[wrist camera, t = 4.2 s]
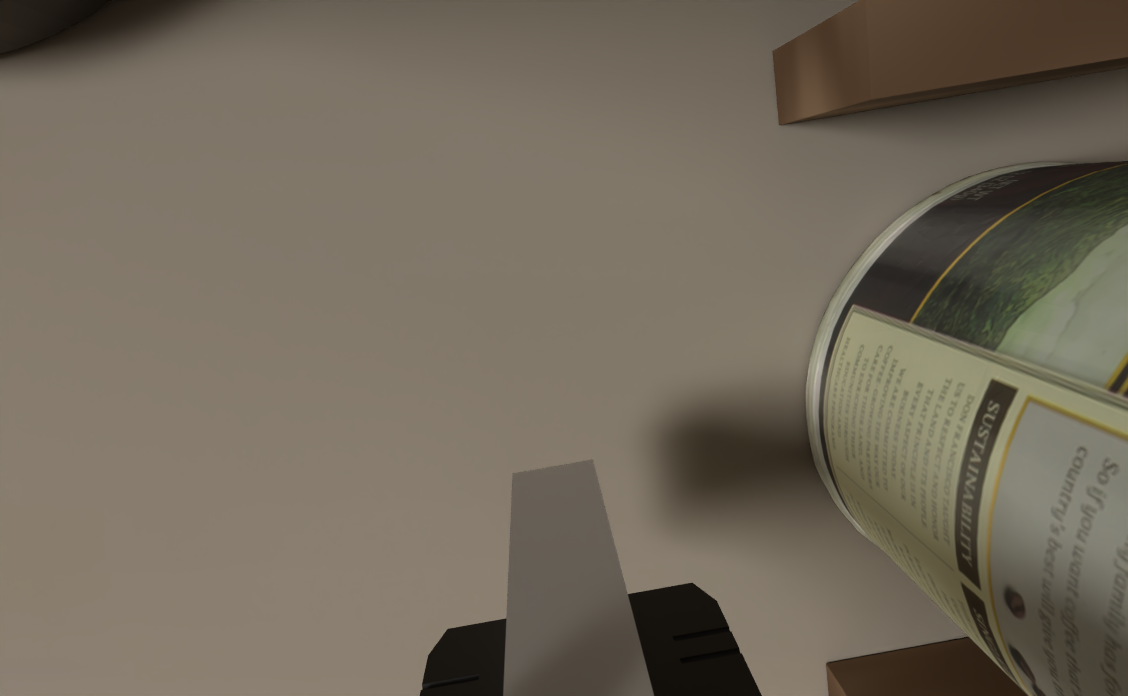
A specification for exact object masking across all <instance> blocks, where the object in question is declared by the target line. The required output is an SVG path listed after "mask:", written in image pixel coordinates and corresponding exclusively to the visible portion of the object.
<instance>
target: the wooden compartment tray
mask: <svg viewBox="0 0 1128 696" xmlns="http://www.w3.org/2000/svg"><path fill="white" fill-rule="evenodd" d="M773 60H774V72H775V83H776V95H777V106H778V118H779V125H783V124H789V123H795V122H801V121H807V120H813V119H819V118H825V117H831V116H837V115H843V114H850V113H856V112H862V111H868V110H874V109H880V108H886V107H892V106H898V105H904V104H910V103H916V102H922V101H928V100H934V99H940V98H946V97H952V96H958V95H964V94H970V93H976V92H982V91H988V90H994V89H1000V88H1006V87H1012V86H1018V85H1024V84H1030V83H1036V82H1042V81H1048V80H1054V79H1060V78H1066V77H1072V76H1078V75H1084V74H1090V73H1096V72H1102V71H1108V70H1114V69H1120V68H1126V67H1128V0H860V1H858V2H857V3H855V4H853V5H851V6H850V7H848V8H846V9H845V10H843V11H841V12H839V13H838V14H836V15H834V16H833V17H831V18H829V19H827V20H826V21H824V22H822V23H821V24H819V25H817V26H815V27H814V28H812V29H810V30H809V31H807V32H805V33H803V34H802V35H800V36H798V37H797V38H795V39H793V40H791V41H790V42H788V43H786V44H785V45H783V46H781V47H779V48H778V49H776V50H774V51H773ZM826 668H827V680H828V691H829V696H1028V695H1027V694H1026V693H1025V692H1024V691H1023V690H1022V689H1021V688H1020V687H1019V686H1018V685H1017V684H1016V683H1015V682H1014V681H1013V680H1012V679H1011V678H1010V677H1009V676H1008V675H1007V674H1006V673H1005V672H1004V671H1003V670H1002V669H1001V668H1000V667H999V666H998V665H997V664H996V663H995V662H994V661H993V660H992V659H991V658H990V657H989V656H988V655H987V654H986V653H985V652H984V651H983V650H982V649H981V648H980V647H979V646H978V645H977V644H976V643H975V642H974V641H973V640H972V639H971V638H964V639H959V640H953V641H948V642H942V643H937V644H931V645H926V646H920V647H915V648H909V649H904V650H898V651H893V652H887V653H882V654H876V655H871V656H865V657H860V658H854V659H849V660H843V661H838V662H832V663H827V664H826Z"/></svg>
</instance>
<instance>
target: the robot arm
mask: <svg viewBox="0 0 1128 696" xmlns="http://www.w3.org/2000/svg"><path fill="white" fill-rule="evenodd" d="M110 1H111V0H0V54H2V53H5V52H8V51H12V50H15V49H19V48H22V47H24V46H27V45H30V44H32V43H35V42H37V41H40V40H43V39H45V38H48V37H50V36H52V35H54V34H56V33H58V32H60V31H62V30H64V29H66V28H68V27H70V26H72V25H74V24H76V23H77V22H79V21H81V20H82V19H84V18H86V17H87V16H89V15H91V14H92V13H94V12H96V11H97V10H99V9H100V8H102V7H103V6H104V5H106V4H107V3H108V2H110ZM422 687H423V690H421V692H420V696H762V695H761V693H760V691H759V689H758V687H757V685H756V683H755V680H754V678H753V676H752V674H751V672H750V670H749V668H748V666H747V664H746V662H745V659H744V657H743V655H742V653H741V654H740V651H739V647H738V645H737V643H736V641H735V638H734V636H733V634H732V632H730V630H729V626H728V624H727V622H726V619H725V617H724V615H723V613H722V611H721V609H720V607H719V605H718V603H717V601H716V600H715V599H713V598H712V597H711V596H709V595H708V594H707V593H705V592H704V591H703V590H701V589H700V588H699V587H697V586H696V585H695V584H694V583H688V584H682V585H677V586H671V587H665V588H660V589H654V590H649V591H643V592H637V593H632V594H627V590H626V586H625V582H624V578H623V574H622V570H621V567H620V563H619V559H618V555H617V551H616V547H615V544H614V540H613V536H612V532H611V528H610V524H609V520H608V517H607V513H606V509H605V505H604V501H603V497H602V493H601V490H600V486H599V482H598V478H597V474H596V470H595V467H594V463H593V460H588V461H582V462H576V463H570V464H565V465H559V466H553V467H547V468H542V469H536V470H530V471H524V472H519V473H513V478H512V501H511V525H510V548H509V572H508V595H507V619H501V620H495V621H490V622H484V623H479V624H473V625H467V626H462V627H456V628H451V629H447V631H446V632H445V633H444V635H443V636H442V638H441V639H440V640H439V642H438V643H437V644H436V646H435V647H434V648H433V650H432V651H431V653H430V654H429V655H428V659H427V664H426V669H425V673H424V678H423V683H422Z"/></svg>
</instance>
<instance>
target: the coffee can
mask: <svg viewBox="0 0 1128 696" xmlns="http://www.w3.org/2000/svg"><path fill="white" fill-rule="evenodd" d="M806 420H807V428H808V435H809V440H810V445H811V451H812V455H813V459H814V463H815V466H816V468H817V470H818V473H819V475H820V477H821V479H822V481H823V483H824V484H825V486H826V488H827V490H828V491H829V493H830V495H831V497H832V499H833V501H834V502H835V504H836V505H837V507H838V508H839V509H840V510H841V512H842V513H843V514H844V515H845V517H846V518H847V519H848V520H849V521H850V522H851V523H852V524H853V525H854V527H855V528H856V529H857V530H858V531H859V532H860V533H861V534H862V535H863V536H865V537H866V538H867V539H868V540H870V541H871V542H872V543H874V544H875V545H876V546H878V547H879V548H881V549H882V550H883V551H884V552H885V553H886V554H887V555H888V556H889V557H890V558H891V559H892V560H893V561H894V562H895V563H896V564H897V565H898V566H899V567H900V568H901V569H902V570H903V571H904V572H905V573H906V574H907V575H908V576H909V577H910V578H911V579H912V580H913V581H914V582H915V583H916V584H917V585H918V586H919V587H920V588H921V589H922V590H923V591H924V592H925V593H926V594H927V595H928V596H929V597H930V598H931V599H932V600H933V601H934V602H935V603H936V604H937V605H938V606H939V607H940V608H941V609H942V610H943V611H944V612H945V613H946V614H947V615H948V616H949V617H950V618H951V619H952V620H953V621H954V622H955V623H956V624H957V625H958V626H959V627H960V628H961V629H962V630H963V631H964V632H965V633H966V634H967V635H968V636H969V637H970V638H971V639H972V640H973V641H974V642H975V643H976V644H977V645H978V646H979V647H980V648H981V649H982V650H983V651H984V652H985V653H986V654H987V655H988V656H989V657H990V658H991V659H992V660H993V661H994V662H995V663H996V664H997V665H998V666H999V667H1000V668H1001V669H1002V670H1003V671H1004V672H1005V673H1006V674H1007V675H1008V676H1009V677H1010V678H1011V679H1012V680H1013V681H1014V682H1015V683H1016V684H1017V685H1018V686H1019V687H1020V688H1021V689H1022V690H1023V691H1024V692H1025V693H1026V694H1027V695H1028V696H1128V161H1123V162H1103V163H1085V164H1078V163H1065V162H1036V163H1024V164H1018V165H1013V166H1007V167H1002V168H997V169H994V170H990V171H986V172H983V173H980V174H977V175H973V176H969V177H967V178H964V179H962V180H960V181H958V182H956V183H953V184H951V185H949V186H947V187H945V188H944V189H942V190H940V191H938V192H936V193H935V194H933V195H931V196H929V197H927V198H926V199H924V200H923V201H921V202H919V203H918V204H916V205H915V206H914V207H912V208H911V209H910V210H908V211H907V212H906V213H904V214H903V215H902V216H901V217H899V218H898V219H897V220H896V221H894V222H893V223H892V224H891V225H890V226H889V227H888V228H887V229H885V230H884V231H883V232H882V233H881V234H880V235H879V236H878V237H877V238H876V239H875V240H874V241H873V242H872V243H871V244H870V245H869V246H868V248H867V249H866V250H865V251H864V252H863V254H862V255H861V256H860V257H859V258H858V260H857V261H856V262H855V263H854V264H853V266H852V267H851V269H850V270H849V272H848V273H847V275H846V276H845V278H844V279H843V281H842V282H841V284H840V286H839V287H838V289H837V290H836V292H835V294H834V295H833V297H832V299H831V301H830V303H829V305H828V307H827V309H826V311H825V313H824V316H823V318H822V320H821V323H820V326H819V329H818V332H817V336H816V339H815V342H814V346H813V349H812V353H811V357H810V362H809V369H808V375H807V383H806Z"/></svg>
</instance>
